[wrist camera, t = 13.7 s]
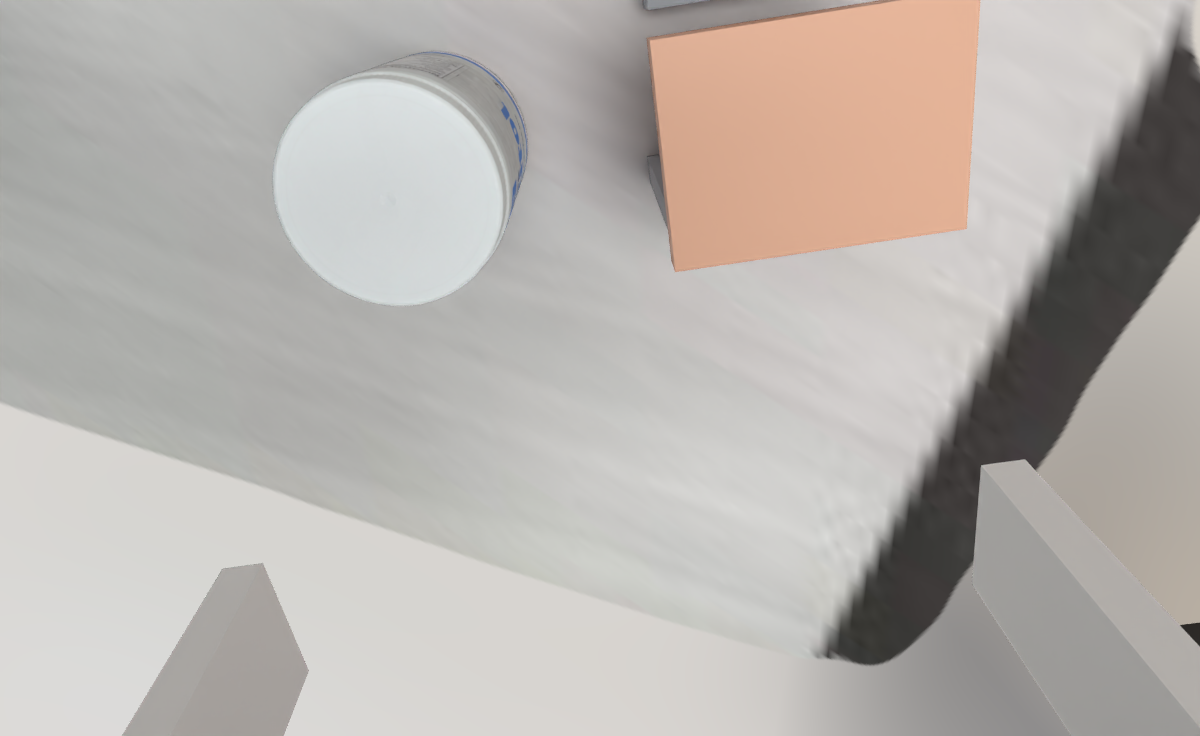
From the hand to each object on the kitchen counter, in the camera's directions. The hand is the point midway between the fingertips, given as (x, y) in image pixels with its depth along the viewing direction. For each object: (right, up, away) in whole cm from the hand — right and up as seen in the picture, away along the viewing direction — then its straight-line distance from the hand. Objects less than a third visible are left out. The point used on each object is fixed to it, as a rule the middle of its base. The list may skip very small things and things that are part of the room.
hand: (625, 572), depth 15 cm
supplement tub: (-9, +17, +30) cm, 36 cm away
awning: (+8, +19, +29) cm, 36 cm away
